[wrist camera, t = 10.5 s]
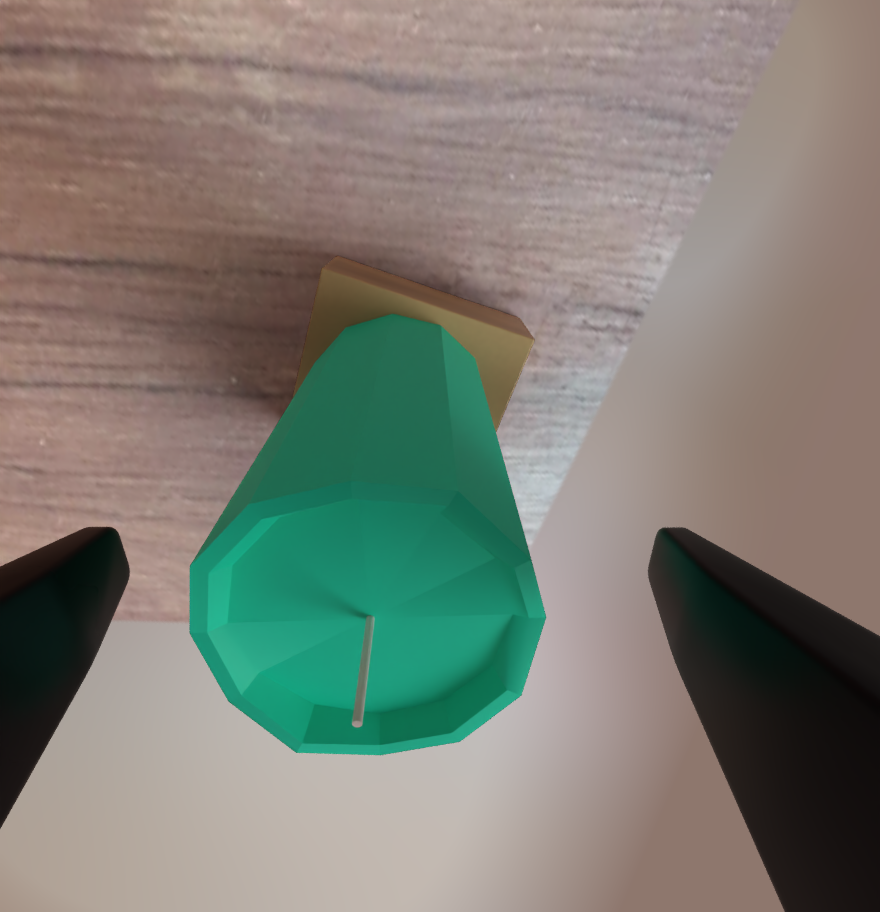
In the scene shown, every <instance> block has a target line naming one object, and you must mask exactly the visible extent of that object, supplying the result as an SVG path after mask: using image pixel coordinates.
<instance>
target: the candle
mask: <svg viewBox="0 0 880 912" xmlns="http://www.w3.org/2000/svg"><path fill="white" fill-rule="evenodd" d="M545 619H546V615H545V611H544V607H543V603H542V599H541V595H540V591H539V588H538V584H537V580H536V576H535V572H534V568H533V564H532V560H531V557H530V553H529V550H528V546H527V542H526V539H525V535H524V532H523V528H522V525H521V521H520V517H519V514H518V510H517V507H516V503H515V499H514V496H513V492H512V489H511V485H510V482H509V478H508V474H507V471H506V467H505V464H504V460H503V457H502V453H501V449H500V446H499V442H498V439H497V435H496V431H495V428H494V424H493V421H492V417H491V414H490V410H489V406H488V403H487V399H486V396H485V392H484V389H483V385H482V381H481V378H480V374H479V371H478V367H477V363H476V360H475V358H474V357H473V356H472V355H471V354H470V353H469V352H468V351H467V350H466V349H465V348H464V347H463V346H462V345H461V344H460V343H459V342H458V341H457V340H456V339H455V338H453V337H452V336H451V335H450V334H449V333H448V332H447V331H446V330H445V329H444V328H443V327H442V326H441V325H437V324H433V323H429V322H425V321H421V320H417V319H413V318H409V317H405V316H401V315H396V314H389V315H386V316H383V317H379V318H376V319H373V320H369V321H366V322H363V323H359V324H356V325H353V326H349V327H346V328H345V329H344V330H343V331H342V332H341V333H340V335H339V336H338V337H337V338H336V339H335V340H334V341H333V343H332V344H331V345H330V346H329V347H328V348H327V349H326V350H325V352H324V353H323V354H322V355H321V356H320V357H319V358H318V360H317V361H316V362H315V363H314V365H313V367H312V368H311V370H310V371H309V373H308V375H307V376H306V378H305V380H304V381H303V383H302V384H301V386H300V388H299V389H298V391H297V393H296V394H295V396H294V397H293V399H292V401H291V402H290V404H289V406H288V407H287V409H286V410H285V412H284V414H283V415H282V417H281V419H280V420H279V422H278V423H277V425H276V427H275V428H274V430H273V432H272V433H271V435H270V437H269V438H268V440H267V441H266V443H265V445H264V446H263V448H262V450H261V451H260V453H259V454H258V456H257V458H256V459H255V461H254V463H253V464H252V466H251V467H250V469H249V471H248V472H247V474H246V476H245V477H244V479H243V480H242V482H241V484H240V485H239V487H238V489H237V490H236V492H235V494H234V495H233V497H232V498H231V500H230V502H229V503H228V505H227V507H226V508H225V510H224V511H223V513H222V515H221V516H220V518H219V520H218V521H217V523H216V524H215V526H214V528H213V529H212V531H211V533H210V534H209V536H208V537H207V539H206V541H205V542H204V544H203V546H202V547H201V549H200V551H199V552H198V554H197V555H196V557H195V559H194V560H193V562H192V564H191V565H190V634H191V636H192V638H193V640H194V642H195V643H196V645H197V647H198V649H199V650H200V652H201V654H202V656H203V657H204V659H205V661H206V663H207V665H208V666H209V668H210V670H211V671H212V673H213V675H214V677H215V678H216V680H217V682H218V684H219V685H220V687H221V689H222V691H223V692H224V694H225V696H226V698H227V699H228V701H229V702H230V703H231V704H233V705H234V706H235V707H237V708H238V709H239V710H240V711H242V712H243V713H244V714H246V715H247V716H249V717H250V718H251V719H252V720H254V721H255V722H257V723H258V724H259V725H260V726H262V727H263V728H264V729H266V730H267V731H268V732H270V733H271V734H273V735H274V736H275V737H276V738H277V739H279V740H280V741H281V742H283V743H284V744H286V745H287V746H288V747H289V748H291V749H292V750H293V751H295V752H296V753H325V754H358V755H384V754H390V753H396V752H402V751H408V750H414V749H420V748H425V747H432V746H438V745H444V744H449V743H455V742H460V741H461V740H463V739H464V738H465V737H467V736H468V735H469V734H470V733H472V732H473V731H475V730H476V729H477V728H479V727H480V726H481V725H483V724H484V723H485V722H487V721H488V720H489V719H491V718H492V717H493V716H495V715H496V714H497V713H499V712H500V711H501V710H503V709H504V708H505V707H507V706H508V705H509V704H511V703H512V702H513V701H514V700H516V699H517V698H519V697H520V696H521V695H522V692H523V689H524V685H525V682H526V679H527V676H528V673H529V670H530V667H531V663H532V660H533V657H534V654H535V651H536V648H537V644H538V641H539V638H540V635H541V632H542V629H543V626H544V623H545Z"/></svg>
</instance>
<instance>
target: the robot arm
mask: <svg viewBox="0 0 880 912" xmlns="http://www.w3.org/2000/svg"><path fill="white" fill-rule="evenodd" d="M129 575H130V569H129V564H128V561H127V558H126V554H125V551H124V548H123V545H122V542H121V539H120V536H119V533H118V532H117V531H116V529H114V528H112V527H87V528H84V529H81V530H79V531H77V532H75V533H73V534H70V535H68V536H66V537H64V538H62V539H59V540H57V541H55V542H53V543H51V544H49V545H46V546H44V547H42V548H40V549H38V550H35V551H33V552H31V553H29V554H27V555H25V556H22V557H20V558H18V559H16V560H14V561H11V562H9V563H7V564H5V565H3V566H0V828H1V827H2V825H3V823H4V821H5V819H6V818H7V816H8V814H9V812H10V810H11V809H12V807H13V805H14V803H15V802H16V800H17V798H18V796H19V794H20V793H21V791H22V789H23V787H24V786H25V784H26V782H27V780H28V778H29V777H30V775H31V773H32V771H33V770H34V768H35V766H36V764H37V762H38V760H39V759H40V757H41V755H42V753H43V752H44V750H45V748H46V746H47V745H48V742H49V741H50V739H51V737H52V736H53V734H54V732H55V730H56V729H57V727H58V725H59V723H60V721H61V719H62V718H63V716H64V714H65V712H66V711H67V709H68V707H69V705H70V703H71V702H72V700H73V698H74V696H75V695H76V693H77V691H78V689H79V687H80V686H81V684H82V682H83V680H84V678H85V677H86V674H87V673H88V671H89V669H90V667H91V665H92V663H93V661H94V659H95V657H96V655H97V652H98V650H99V648H100V646H101V643H102V641H103V639H104V637H105V634H106V632H107V630H108V627H109V625H110V623H111V620H112V618H113V616H114V613H115V611H116V609H117V606H118V604H119V602H120V599H121V597H122V595H123V592H124V590H125V588H126V585H127V583H128V580H129ZM648 576H649V582H650V585H651V588H652V591H653V595H654V597H655V601H656V604H657V607H658V610H659V614H660V617H661V620H662V623H663V626H664V630H665V633H666V636H667V639H668V642H669V646H670V649H671V652H672V655H673V657H674V660H675V663H676V665H677V668H678V670H679V673H680V675H681V677H682V680H683V682H684V684H685V686H686V689H687V691H688V693H689V695H690V697H691V700H692V702H693V704H694V707H695V709H696V711H697V714H698V716H699V718H700V720H701V723H702V725H703V727H704V730H705V732H706V734H707V736H708V739H709V741H710V743H711V745H712V747H713V750H714V752H715V754H716V757H717V759H718V761H719V764H720V765H721V768H722V770H723V773H724V775H725V777H726V779H727V781H728V784H729V786H730V788H731V791H732V793H733V795H734V798H735V800H736V802H737V804H738V807H739V809H740V811H741V813H742V816H743V818H744V820H745V823H746V825H747V827H748V829H749V832H750V834H751V836H752V838H753V841H754V843H755V845H756V847H757V850H758V852H759V854H760V857H761V859H762V861H763V863H764V866H765V868H766V870H767V872H768V875H769V877H770V879H771V882H772V884H773V886H774V888H775V891H776V893H777V895H778V897H779V900H780V902H781V904H782V906H783V909H784V911H785V912H880V636H879V635H877V634H875V633H873V632H871V631H870V630H868V629H866V628H864V627H862V626H861V625H859V624H857V623H855V622H853V621H852V620H850V619H848V618H846V617H844V616H842V615H841V614H839V613H837V612H835V611H834V610H831V609H830V608H828V607H827V606H825V605H823V604H821V603H819V602H818V601H816V600H814V599H812V598H810V597H809V596H806V595H805V594H803V593H801V592H800V591H798V590H796V589H794V588H792V587H791V586H789V585H787V584H785V583H783V582H782V581H780V580H778V579H776V578H774V577H773V576H771V575H769V574H767V573H765V572H763V571H762V570H760V569H758V568H756V567H754V566H753V565H751V564H749V563H748V562H746V561H744V560H742V559H740V558H739V557H737V556H735V555H733V554H731V553H729V552H728V551H726V550H724V549H722V548H721V547H719V546H717V545H715V544H713V543H712V542H710V541H708V540H706V539H704V538H702V537H701V536H699V535H697V534H695V533H694V532H692V531H690V530H688V529H686V528H662V529H660V530H659V531H658V532H657V535H656V538H655V541H654V546H653V550H652V554H651V558H650V562H649V567H648Z"/></svg>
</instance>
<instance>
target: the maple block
mask: <svg viewBox="0 0 880 912" xmlns="http://www.w3.org/2000/svg"><path fill="white" fill-rule="evenodd" d="M389 314H396V315H401V316H405V317H409V318H413V319H417V320H421V321H425V322H429V323H433V324H437V325H441V326H442V327H443V328H444V329H445V330H446V331H447V332H448V333H449V334H450V335H451V336H452V337H453V338H455V339H456V340H457V341H458V342H459V343H460V344H461V345H462V346H463V347H464V348H465V349H466V350H467V351H468V352H469V353H470V354H471V355H472V356H473V357H474V358H475V360H476V363H477V367H478V371H479V374H480V378H481V381H482V385H483V389H484V392H485V396H486V399H487V403H488V406H489V410H490V414H491V417H492V421H493V424H494V428H495V431H497V429H498V426H499V424H500V422H501V419H502V417H503V415H504V412H505V410H506V407H507V405H508V403H509V400H510V398H511V396H512V393H513V391H514V388H515V386H516V384H517V381H518V379H519V377H520V374H521V372H522V369H523V367H524V365H525V362H526V360H527V358H528V355H529V353H530V350H531V348H532V346H533V343H534V341H535V339H534V338H533V336H532V335H531V334H530V332H529V331H528V329H527V328H526V326H525V325H524V323H523V322H522V320H521V319H520V318H518V317H515V316H512V315H509V314H506V313H503V312H500V311H497V310H494V309H491V308H488V307H486V306H483V305H480V304H477V303H474V302H471V301H468V300H465V299H462V298H459V297H456V296H454V295H451V294H448V293H445V292H442V291H439V290H436V289H433V288H430V287H427V286H424V285H422V284H419V283H416V282H413V281H410V280H407V279H404V278H401V277H398V276H395V275H392V274H390V273H387V272H384V271H381V270H378V269H375V268H372V267H369V266H366V265H363V264H360V263H357V262H355V261H352V260H349V259H346V258H343V257H340V256H336V257H335V258H334V259H332V260H331V261H330V262H329V263H328V264H326V265H325V266H324V267H323V268H322V269H321V273H320V278H319V282H318V286H317V291H316V295H315V300H314V304H313V309H312V313H311V317H310V322H309V326H308V331H307V335H306V340H305V344H304V349H303V353H302V357H301V362H300V366H299V371H298V375H297V380H296V384H295V388H294V393H293V397H294V396H295V394H296V393H297V391H298V389H299V388H300V386H301V384H302V383H303V381H304V380H305V378H306V376H307V375H308V373H309V371H310V370H311V368H312V367H313V365H314V363H315V362H316V361H317V360H318V358H319V357H320V356H321V355H322V354H323V353H324V352H325V350H326V349H327V348H328V347H329V346H330V345H331V344H332V343H333V341H334V340H335V339H336V338H337V337H338V336H339V335H340V333H341V332H342V331H343V330H344V329H345V328H346V327H349V326H353V325H356V324H359V323H363V322H366V321H369V320H373V319H376V318H379V317H383V316H386V315H389ZM293 397H292V399H293Z"/></svg>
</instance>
